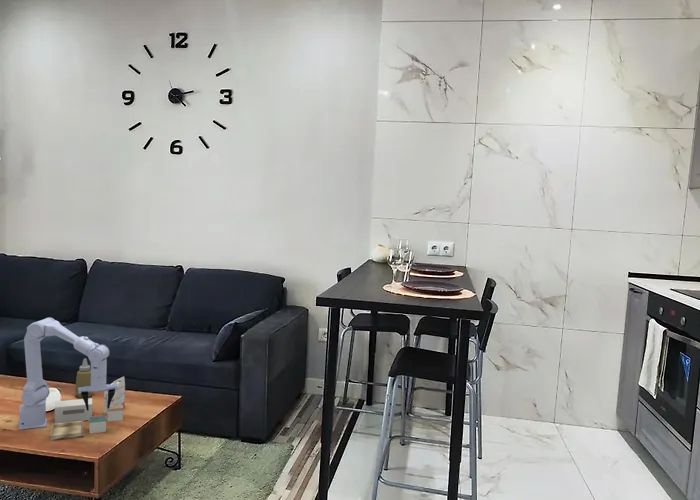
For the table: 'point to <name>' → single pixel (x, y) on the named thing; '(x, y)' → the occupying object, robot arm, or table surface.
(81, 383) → the squeeze bottle
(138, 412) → the table surface
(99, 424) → the small white teal box
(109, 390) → the robot arm
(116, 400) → the ink cartridge box
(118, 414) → the light grey block
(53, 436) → the oak tray
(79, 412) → the printer unit
